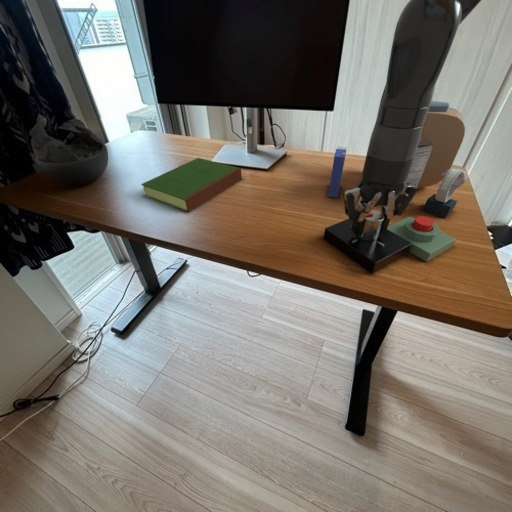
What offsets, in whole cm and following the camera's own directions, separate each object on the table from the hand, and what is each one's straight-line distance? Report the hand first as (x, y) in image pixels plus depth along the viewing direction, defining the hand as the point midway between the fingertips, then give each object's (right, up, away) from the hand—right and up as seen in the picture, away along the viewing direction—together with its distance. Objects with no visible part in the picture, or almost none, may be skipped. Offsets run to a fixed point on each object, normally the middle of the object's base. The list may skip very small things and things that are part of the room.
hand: (367, 232), depth 57 cm
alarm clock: (+21, +18, +27) cm, 39 cm away
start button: (+12, +1, +1) cm, 12 cm away
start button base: (+12, -2, +3) cm, 13 cm away
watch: (+23, +7, +13) cm, 27 cm away
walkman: (-1, +14, +23) cm, 27 cm away
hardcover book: (-43, +17, +28) cm, 54 cm away
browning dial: (0, -1, +1) cm, 1 cm away
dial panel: (0, -3, +3) cm, 4 cm away
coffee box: (+14, +11, +19) cm, 26 cm away
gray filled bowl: (-81, +20, +34) cm, 90 cm away
